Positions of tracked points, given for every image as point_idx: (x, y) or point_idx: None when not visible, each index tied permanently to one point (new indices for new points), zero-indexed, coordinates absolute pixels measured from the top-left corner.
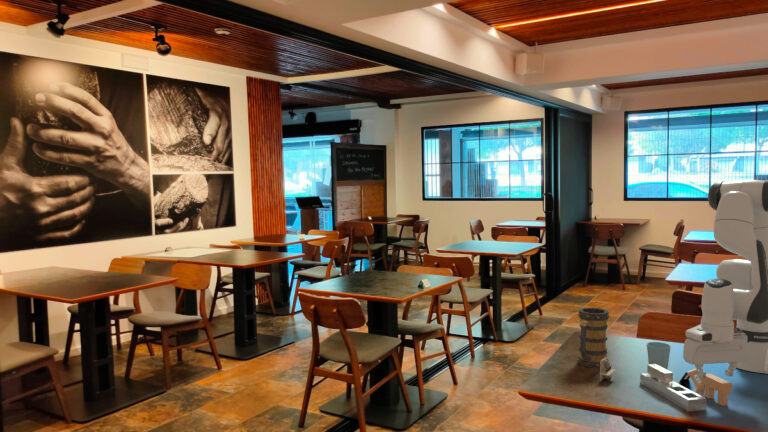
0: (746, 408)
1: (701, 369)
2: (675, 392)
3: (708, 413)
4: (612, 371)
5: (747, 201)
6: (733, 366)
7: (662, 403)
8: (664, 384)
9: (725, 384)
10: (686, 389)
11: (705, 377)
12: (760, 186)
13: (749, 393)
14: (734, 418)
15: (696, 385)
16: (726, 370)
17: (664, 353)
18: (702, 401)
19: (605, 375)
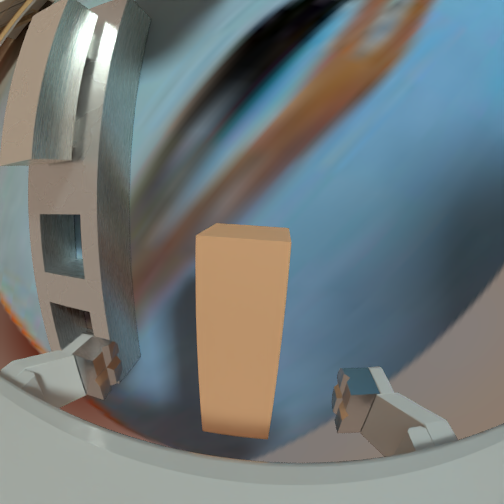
0: (314, 388)
1: (55, 403)
2: (38, 281)
3: (133, 376)
4: (17, 17)
5: None
6: (392, 453)
7: None
8: (40, 173)
9: (222, 431)
10: (88, 266)
11: (120, 373)
12: None
13: (475, 253)
14: (194, 426)
15: (324, 74)
16: (347, 402)
17: None
18: None
19: (16, 25)
